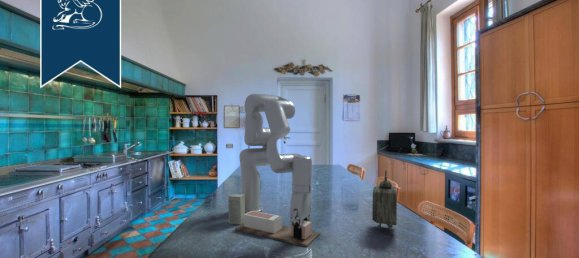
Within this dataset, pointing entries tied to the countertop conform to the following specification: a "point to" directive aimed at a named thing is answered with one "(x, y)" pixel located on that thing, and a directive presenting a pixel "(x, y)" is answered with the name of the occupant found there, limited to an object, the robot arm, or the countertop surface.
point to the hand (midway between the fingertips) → (301, 234)
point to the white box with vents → (263, 221)
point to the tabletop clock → (385, 204)
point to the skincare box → (236, 208)
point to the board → (281, 235)
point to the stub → (304, 229)
